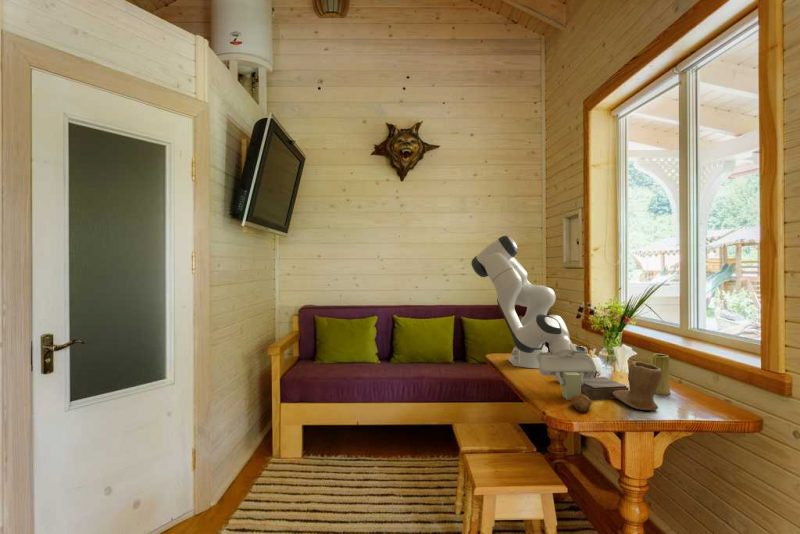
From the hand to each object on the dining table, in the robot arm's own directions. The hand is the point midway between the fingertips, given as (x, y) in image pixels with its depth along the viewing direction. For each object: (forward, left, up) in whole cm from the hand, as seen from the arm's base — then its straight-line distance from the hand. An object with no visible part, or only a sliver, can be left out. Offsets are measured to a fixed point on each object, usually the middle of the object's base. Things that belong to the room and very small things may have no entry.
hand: (572, 384), depth 157 cm
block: (-1, 0, -5) cm, 5 cm away
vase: (-1, +37, -5) cm, 37 cm away
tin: (-21, +15, -5) cm, 26 cm away
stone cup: (+11, +18, -5) cm, 22 cm away
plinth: (-5, +14, -5) cm, 16 cm away
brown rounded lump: (+10, -3, -5) cm, 11 cm away
